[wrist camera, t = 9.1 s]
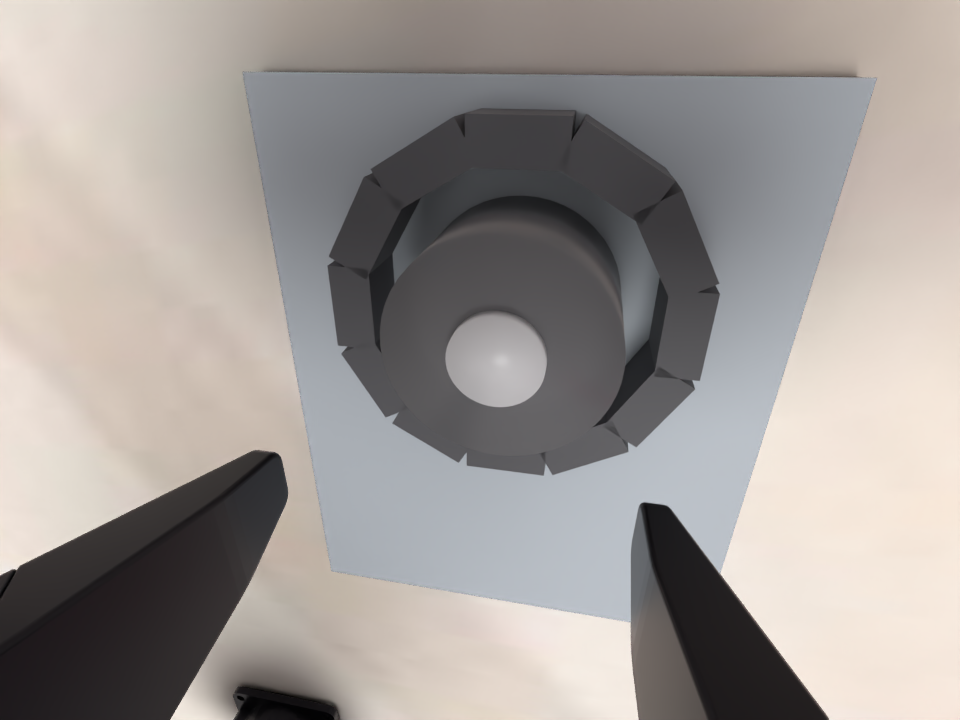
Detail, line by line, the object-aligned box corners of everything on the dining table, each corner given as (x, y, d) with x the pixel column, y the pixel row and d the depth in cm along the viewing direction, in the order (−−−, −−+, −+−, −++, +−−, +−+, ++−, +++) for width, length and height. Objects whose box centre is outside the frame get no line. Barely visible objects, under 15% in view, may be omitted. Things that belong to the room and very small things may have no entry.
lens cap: (430, 371, 18) (384, 450, 15) (420, 191, 16) (361, 231, 12) (609, 389, 17) (610, 479, 14) (634, 199, 15) (644, 246, 11)
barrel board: (340, 554, 25) (311, 609, 23) (262, 71, 16) (196, 71, 13) (696, 612, 23) (709, 682, 20) (858, 77, 13) (922, 79, 11)
